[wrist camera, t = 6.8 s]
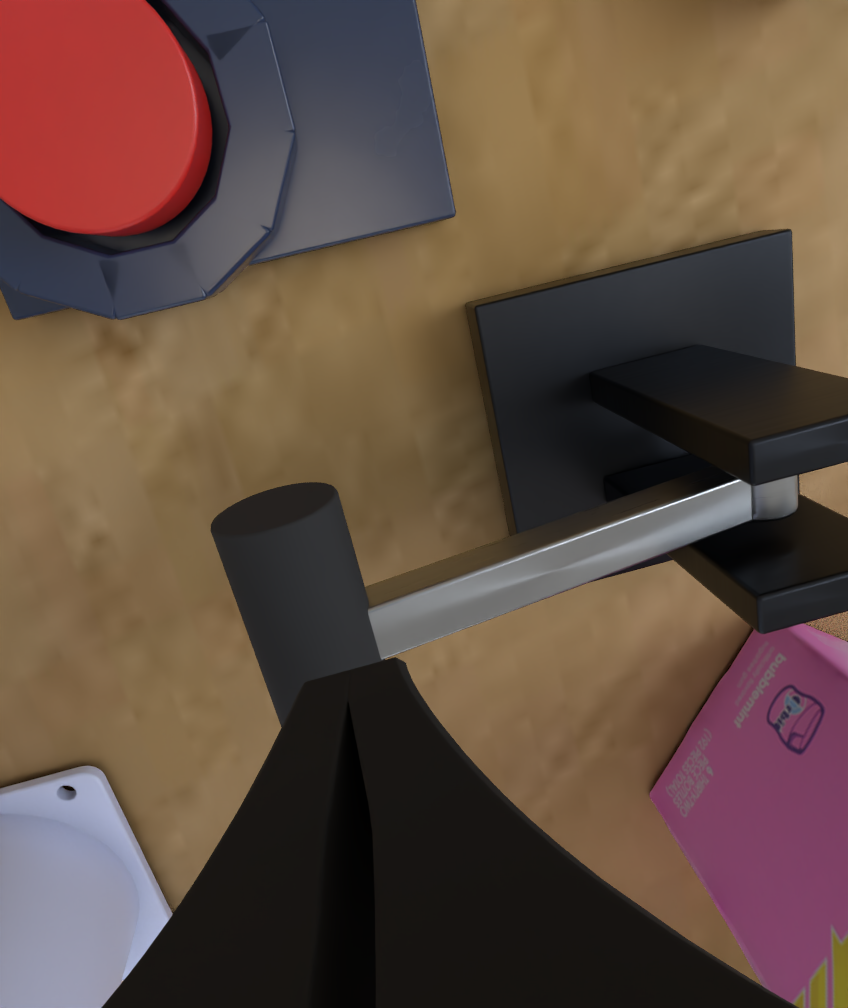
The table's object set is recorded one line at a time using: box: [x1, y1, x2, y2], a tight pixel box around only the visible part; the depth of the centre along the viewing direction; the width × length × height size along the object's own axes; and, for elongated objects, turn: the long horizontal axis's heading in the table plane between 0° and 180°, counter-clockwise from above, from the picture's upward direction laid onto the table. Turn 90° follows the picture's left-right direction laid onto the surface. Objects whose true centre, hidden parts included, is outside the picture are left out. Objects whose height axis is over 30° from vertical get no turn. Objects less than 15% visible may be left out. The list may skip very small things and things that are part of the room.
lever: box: [211, 466, 798, 727], centre depth 13 cm, size 11×5×2 cm, turn 102°
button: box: [0, 0, 212, 237], centre depth 12 cm, size 4×4×2 cm
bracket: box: [466, 229, 848, 634], centre depth 15 cm, size 8×8×8 cm
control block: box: [0, 0, 456, 320], centre depth 14 cm, size 10×7×3 cm
